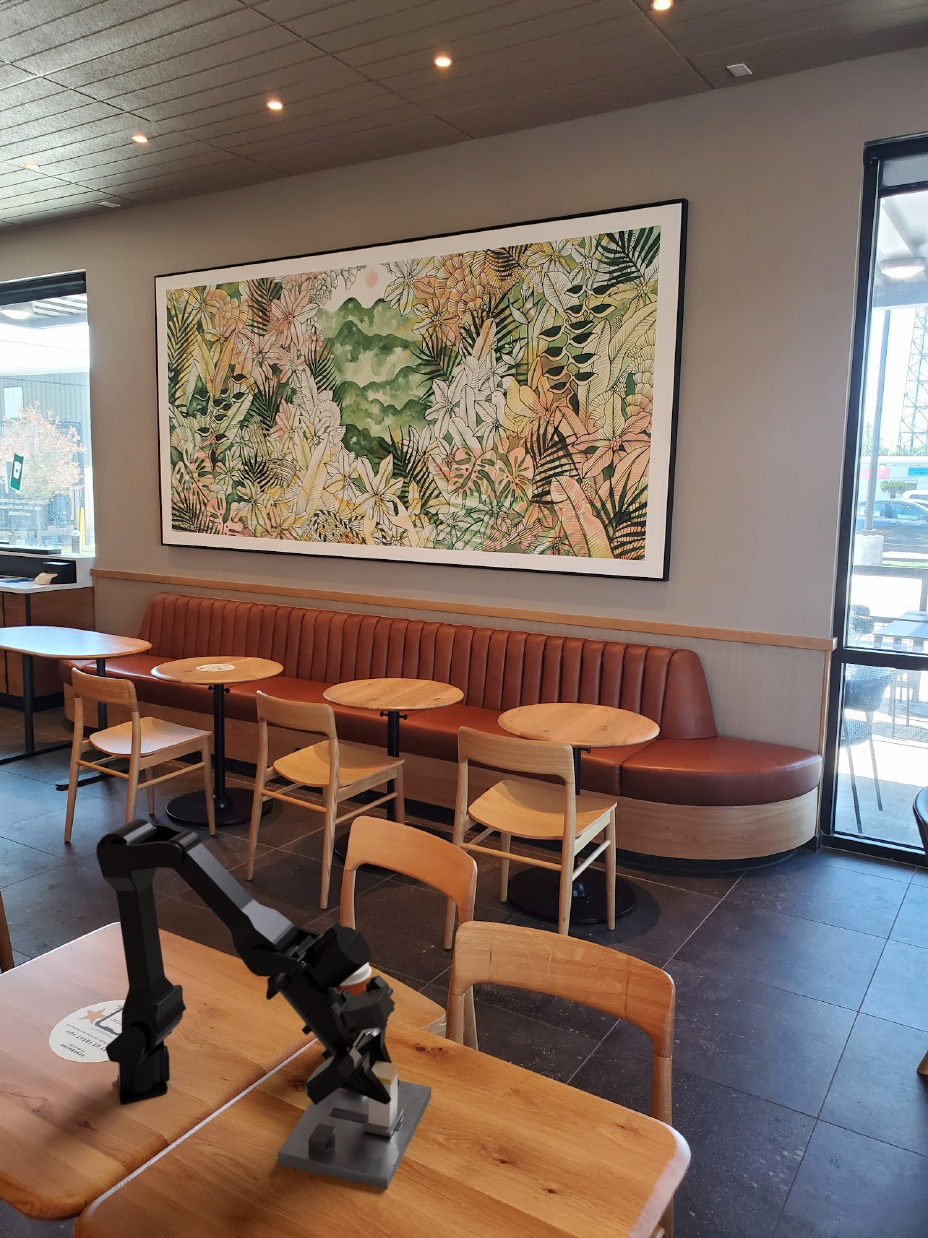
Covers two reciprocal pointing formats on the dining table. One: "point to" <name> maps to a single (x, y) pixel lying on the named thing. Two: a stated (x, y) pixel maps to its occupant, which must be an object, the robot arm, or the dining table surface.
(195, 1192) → the dining table surface
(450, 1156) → the dining table surface
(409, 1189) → the dining table surface
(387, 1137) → the plate
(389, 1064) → the handle
